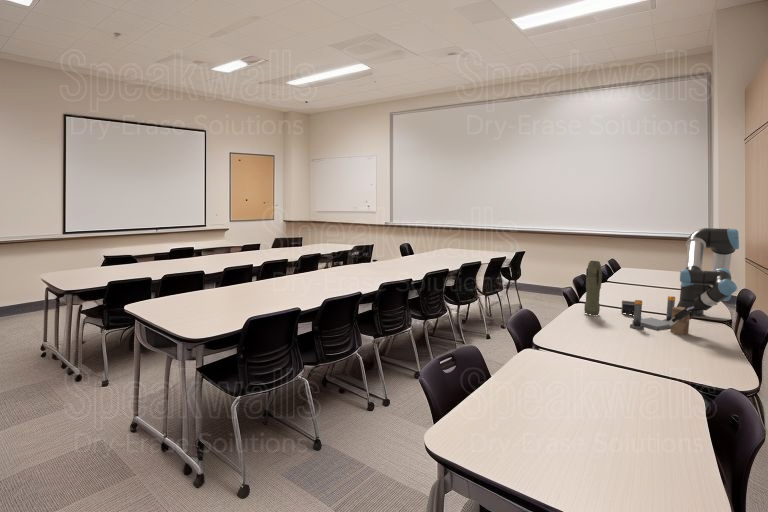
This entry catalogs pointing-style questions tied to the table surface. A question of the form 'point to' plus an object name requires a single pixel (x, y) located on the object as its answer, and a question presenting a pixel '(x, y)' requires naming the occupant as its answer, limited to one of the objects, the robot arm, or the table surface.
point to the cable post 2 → (670, 307)
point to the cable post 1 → (637, 315)
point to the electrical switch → (628, 307)
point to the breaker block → (680, 322)
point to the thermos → (593, 287)
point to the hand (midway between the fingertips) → (673, 323)
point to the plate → (654, 323)
